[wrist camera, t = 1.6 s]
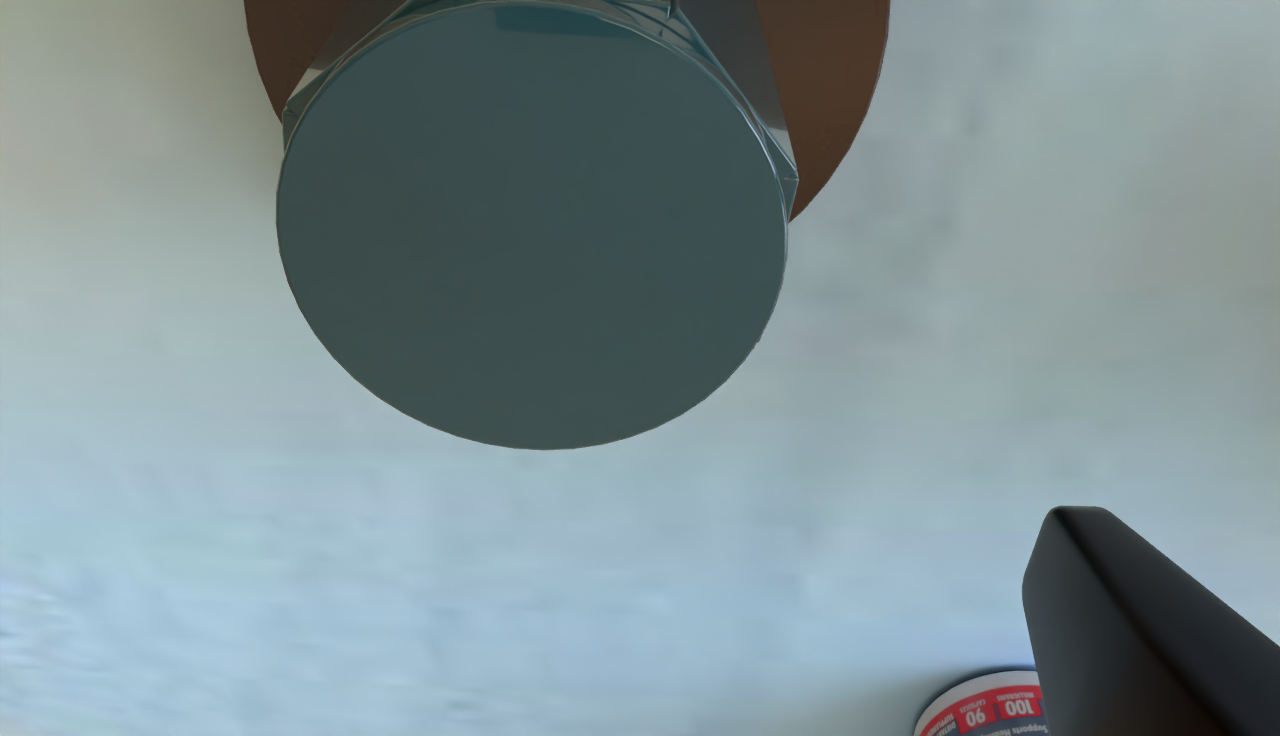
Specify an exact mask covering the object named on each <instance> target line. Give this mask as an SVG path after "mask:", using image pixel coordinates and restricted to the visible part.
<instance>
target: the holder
mask: <svg viewBox="0 0 1280 736" xmlns="http://www.w3.org/2000/svg"><path fill="white" fill-rule="evenodd" d="M351 1H352V0H244V7H245V14H246V22H247V29H248V34H249V38H250V41H251V45H252V49H253V53H254V57H255V60H256V64H257V68H258V72H259V74H260V77H261V79H262V81H263V84H264V86H265V89H266V91H267V94H268V96H269V99H270V101H271V104H272V106H273V109H274V111H275V113H276V115H277V116H278V118H279V120H280V122H281V124H282V112H283V110H284V108H285V107H286V102H287V100H288V99H289V97H290V96H291V94H292V93H293V91H294V90H295V88H296V86H297V85H298V83H299V82H300V80H301V79H302V77H303V76H304V74H305V72H306V71H307V69H308V68H309V66H310V65H311V63H312V62H313V60H314V59H315V57H316V55H317V54H318V52H319V51H320V49H321V48H322V46H323V45H324V43H325V42H326V40H327V38H328V37H329V35H330V34H331V32H332V31H333V29H334V28H335V26H336V24H337V23H338V21H339V20H340V18H341V17H342V15H343V14H344V12H345V11H346V9H347V7H348V6H349V4H350V3H351ZM755 1H756V5H757V9H758V13H759V17H760V21H761V25H762V29H763V33H764V37H765V41H766V45H767V49H768V54H769V58H770V62H771V66H772V70H773V74H774V78H775V82H776V86H777V90H778V94H779V98H780V102H781V106H782V110H783V114H784V118H785V122H786V127H787V131H788V135H789V139H790V143H791V147H792V151H793V155H794V159H795V163H796V167H797V173H798V177H799V182H798V186H797V190H796V194H795V198H794V202H793V206H792V210H791V215H790V219H789V223H790V222H791V221H792V220H793V219H794V218H795V217H796V216H798V215H799V214H800V213H801V212H802V211H803V210H804V209H805V208H806V207H807V205H808V204H809V203H810V202H811V201H812V200H813V198H814V197H815V196H816V195H817V194H818V192H819V191H820V190H821V189H822V188H823V187H824V185H825V184H826V183H827V182H828V181H829V179H830V178H831V176H832V175H833V173H834V172H835V170H836V169H837V167H838V166H839V164H840V163H841V161H842V160H843V158H844V157H845V155H846V153H847V152H848V150H849V149H850V147H851V145H852V143H853V141H854V139H855V137H856V135H857V133H858V131H859V129H860V127H861V125H862V123H863V121H864V119H865V117H866V115H867V112H868V109H869V106H870V103H871V100H872V97H873V94H874V92H875V89H876V86H877V83H878V80H879V77H880V73H881V68H882V63H883V58H884V53H885V48H886V43H887V38H888V29H889V15H890V0H755ZM789 223H788V224H789Z"/></svg>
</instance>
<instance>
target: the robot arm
mask: <svg viewBox="0 0 1280 736" xmlns="http://www.w3.org/2000/svg"><path fill="white" fill-rule="evenodd" d="M1022 600H1023V607H1024V612H1025V617H1026V622H1027V626H1028V631H1029V636H1030V641H1031V646H1032V650H1033V655H1034V660H1035V665H1036V670H1037V674H1038V679H1039V684H1040V689H1041V694H1042V698H1043V703H1044V708H1045V713H1046V718H1047V723H1048V727H1049V732H1050V736H1280V647H1279V646H1278V645H1277V644H1276V643H1274V642H1273V641H1272V640H1271V639H1269V638H1268V637H1267V636H1266V635H1264V634H1263V633H1262V632H1261V631H1259V630H1258V629H1257V628H1256V627H1254V626H1253V625H1252V624H1251V623H1249V622H1248V621H1247V620H1246V619H1244V618H1243V617H1242V616H1240V615H1239V614H1238V613H1237V612H1235V611H1234V610H1233V609H1232V608H1230V607H1229V606H1228V605H1227V604H1225V603H1224V602H1223V601H1222V600H1220V599H1219V598H1218V597H1217V596H1215V595H1214V594H1213V593H1212V592H1210V591H1209V590H1208V589H1207V588H1205V587H1204V586H1203V585H1202V584H1200V583H1199V582H1198V581H1197V580H1195V579H1194V578H1193V577H1192V576H1190V575H1189V574H1188V573H1187V572H1185V571H1184V570H1183V569H1181V568H1180V567H1179V566H1178V565H1176V564H1175V563H1174V562H1173V561H1171V560H1170V559H1169V558H1168V557H1166V556H1165V555H1164V554H1163V553H1161V552H1160V551H1159V550H1158V549H1156V548H1155V547H1154V546H1153V545H1151V544H1150V543H1149V542H1148V541H1146V540H1145V539H1144V538H1143V537H1141V536H1140V535H1139V534H1138V533H1136V532H1135V531H1134V530H1133V529H1131V528H1130V527H1129V526H1127V525H1126V524H1125V523H1124V522H1122V521H1121V520H1120V519H1119V518H1117V517H1116V516H1115V515H1114V514H1112V513H1111V512H1109V511H1108V510H1106V509H1104V508H1101V507H1096V506H1058V507H1055V508H1053V509H1051V510H1050V511H1049V512H1048V514H1047V515H1046V517H1045V519H1044V521H1043V524H1042V527H1041V530H1040V532H1039V535H1038V538H1037V541H1036V543H1035V546H1034V549H1033V552H1032V554H1031V557H1030V560H1029V563H1028V566H1027V568H1026V571H1025V574H1024V578H1023V584H1022Z"/></svg>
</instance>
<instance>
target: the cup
mask: <svg viewBox="0 0 1280 736" xmlns="http://www.w3.org/2000/svg"><path fill="white" fill-rule="evenodd" d="M282 126H283V147H284V157H283V160H282V163H281V168H280V174H279V180H278V185H277V191H276V230H277V238H278V245H279V252H280V256H281V260H282V263H283V267H284V270H285V274H286V277H287V281H288V284H289V286H290V288H291V290H292V293H293V295H294V297H295V300H296V302H297V304H298V306H299V309H300V310H301V312H302V314H303V315H304V317H305V319H306V320H307V322H308V324H309V325H310V327H311V329H312V330H313V332H314V334H315V335H316V336H317V338H318V339H319V340H320V341H321V343H322V344H323V345H324V347H325V348H326V349H327V350H328V352H329V353H330V354H331V355H332V357H333V358H334V359H335V360H336V361H337V362H338V363H339V364H340V365H341V366H342V367H343V368H344V369H345V370H346V371H347V372H348V373H349V374H350V375H351V376H352V377H353V378H354V379H355V380H357V381H358V382H359V383H360V384H362V385H363V386H364V387H365V388H367V389H368V390H369V391H370V392H372V393H373V394H374V395H375V396H377V397H378V398H380V399H381V400H383V401H384V402H386V403H388V404H389V405H391V406H392V407H394V408H396V409H397V410H399V411H400V412H402V413H404V414H406V415H408V416H410V417H412V418H414V419H416V420H418V421H420V422H422V423H424V424H426V425H428V426H430V427H433V428H436V429H438V430H441V431H444V432H446V433H449V434H452V435H454V436H457V437H461V438H465V439H469V440H472V441H476V442H480V443H484V444H489V445H495V446H502V447H508V448H514V449H532V450H560V449H576V448H583V447H590V446H597V445H603V444H607V443H611V442H614V441H618V440H622V439H626V438H630V437H633V436H635V435H638V434H641V433H643V432H646V431H649V430H651V429H654V428H657V427H659V426H661V425H662V424H664V423H666V422H668V421H670V420H672V419H674V418H676V417H678V416H680V415H682V414H684V413H685V412H687V411H688V410H690V409H691V408H693V407H694V406H696V405H697V404H699V403H700V402H702V401H703V400H705V399H706V398H707V397H708V396H709V395H710V394H712V393H713V392H714V391H715V390H716V389H717V388H719V387H720V386H721V385H722V384H723V383H724V382H726V381H727V379H728V378H729V377H730V376H731V375H732V374H733V373H734V372H735V371H736V369H737V368H738V367H739V366H740V365H741V364H742V363H743V362H744V361H745V359H746V358H747V356H748V355H749V353H750V352H751V350H752V349H753V348H754V346H755V344H756V343H757V342H759V340H760V338H761V336H762V334H763V332H764V330H765V328H766V326H767V323H768V321H769V319H770V317H771V315H772V313H773V311H774V309H775V306H776V302H777V299H778V296H779V293H780V290H781V287H782V284H783V278H784V273H785V267H786V261H787V250H788V223H789V219H790V215H791V210H792V206H793V202H794V198H795V194H796V190H797V186H798V182H799V177H798V173H797V167H796V163H795V159H794V155H793V151H792V147H791V143H790V139H789V135H788V131H787V127H786V122H785V118H784V114H783V110H782V106H781V102H780V98H779V94H778V90H777V86H776V82H775V78H774V74H773V70H772V66H771V62H770V58H769V54H768V49H767V45H766V41H765V37H764V33H763V29H762V25H761V21H760V17H759V13H758V9H757V5H756V1H755V0H352V1H351V3H350V4H349V6H348V7H347V9H346V11H345V12H344V14H343V15H342V17H341V18H340V20H339V21H338V23H337V24H336V26H335V28H334V29H333V31H332V32H331V34H330V35H329V37H328V38H327V40H326V42H325V43H324V45H323V46H322V48H321V49H320V51H319V52H318V54H317V55H316V57H315V59H314V60H313V62H312V63H311V65H310V66H309V68H308V69H307V71H306V72H305V74H304V76H303V77H302V79H301V80H300V82H299V83H298V85H297V86H296V88H295V90H294V91H293V93H292V94H291V96H290V97H289V99H288V100H287V102H286V107H285V108H284V110H283V112H282Z"/></svg>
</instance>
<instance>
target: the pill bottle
mask: <svg viewBox="0 0 1280 736" xmlns="http://www.w3.org/2000/svg"><path fill="white" fill-rule="evenodd" d="M914 736H1050V732H1049V727H1048V723H1047V718H1046V713H1045V708H1044V703H1043V698H1042V694H1041V689H1040V684H1039V679H1038V674H1037V672H1036V671H1008V672H1000V673H994V674H989V675H985V676H981V677H978V678H975V679H972V680H969V681H966V682H964V683H962V684H960V685H957V686H955V687H954V688H952V689H950V690H948V691H947V692H945V693H944V694H943V695H941V696H940V697H938V698H937V699H936V700H935V701H934V702H933V703H932V704H931V705H930V706H929V707H928V708H927V709H926V710H925V711H924V713H923V714H922V716H921V717H920V719H919V721H918V723H917V725H916V728H915V732H914Z"/></svg>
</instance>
